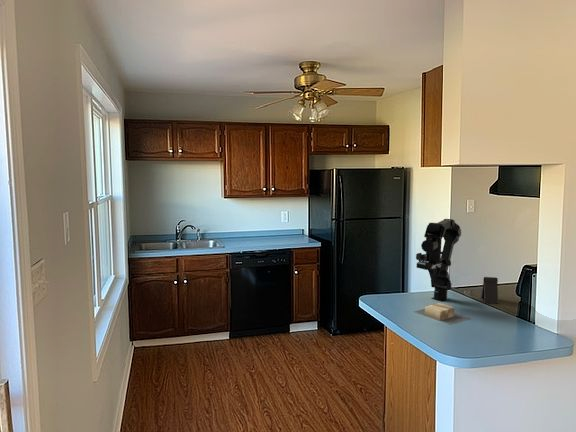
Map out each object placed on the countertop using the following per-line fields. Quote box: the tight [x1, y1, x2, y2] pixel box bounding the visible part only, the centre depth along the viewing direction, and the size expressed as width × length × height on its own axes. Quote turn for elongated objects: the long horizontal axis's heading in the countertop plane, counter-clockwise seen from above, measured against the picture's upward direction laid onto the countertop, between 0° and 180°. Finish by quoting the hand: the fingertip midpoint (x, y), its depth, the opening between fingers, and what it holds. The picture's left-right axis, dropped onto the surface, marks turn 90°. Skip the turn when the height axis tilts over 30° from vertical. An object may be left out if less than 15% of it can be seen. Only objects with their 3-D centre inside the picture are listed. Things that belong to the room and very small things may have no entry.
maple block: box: [424, 302, 455, 321], centre depth 205 cm, size 4×8×10 cm
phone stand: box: [480, 276, 499, 304], centre depth 230 cm, size 9×6×12 cm, turn 170°
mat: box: [413, 308, 472, 326], centre depth 206 cm, size 15×20×1 cm
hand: (432, 281), depth 219 cm, fingers closed
